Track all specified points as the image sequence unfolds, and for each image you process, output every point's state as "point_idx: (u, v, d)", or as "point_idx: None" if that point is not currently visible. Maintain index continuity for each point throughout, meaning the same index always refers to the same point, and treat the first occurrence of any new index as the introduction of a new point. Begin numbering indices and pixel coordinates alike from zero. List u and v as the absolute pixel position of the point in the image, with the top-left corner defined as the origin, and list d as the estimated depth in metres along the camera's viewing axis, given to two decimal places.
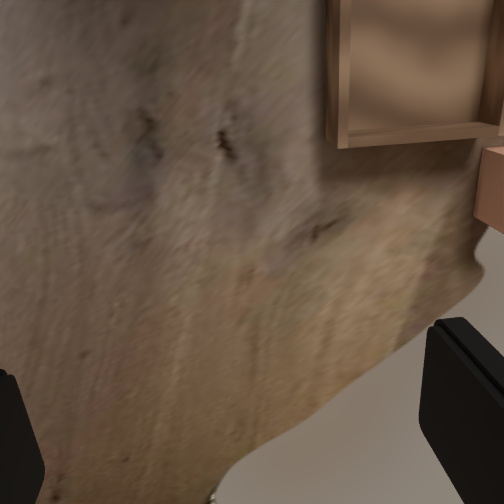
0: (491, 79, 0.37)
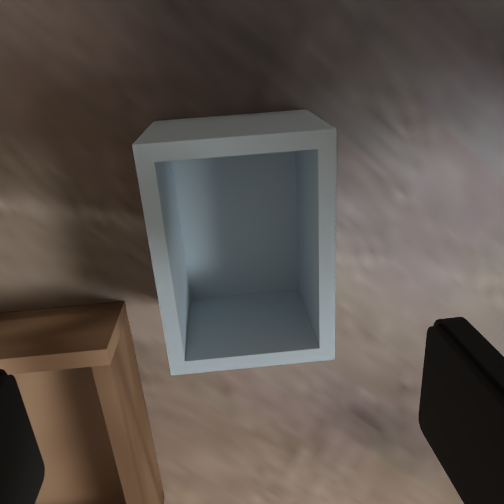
0: None
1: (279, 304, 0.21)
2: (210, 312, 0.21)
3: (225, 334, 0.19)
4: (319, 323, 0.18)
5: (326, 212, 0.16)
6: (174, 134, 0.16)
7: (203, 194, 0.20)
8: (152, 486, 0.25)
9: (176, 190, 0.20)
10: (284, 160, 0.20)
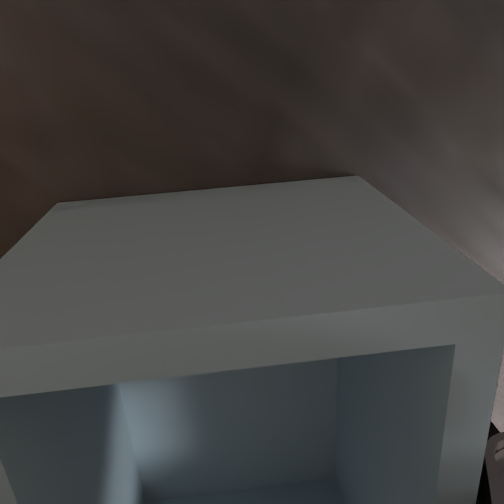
0: None
1: None
2: None
3: None
4: None
5: (457, 478, 0.06)
6: (61, 283, 0.06)
7: None
8: None
9: None
10: None
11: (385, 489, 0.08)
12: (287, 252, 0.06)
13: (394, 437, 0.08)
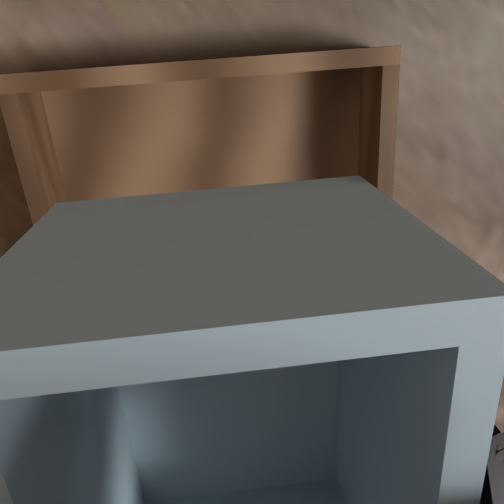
0: None
1: None
2: None
3: None
4: None
5: (460, 482, 0.06)
6: (60, 284, 0.06)
7: None
8: None
9: None
10: None
11: (387, 492, 0.08)
12: (288, 253, 0.06)
13: (396, 440, 0.08)
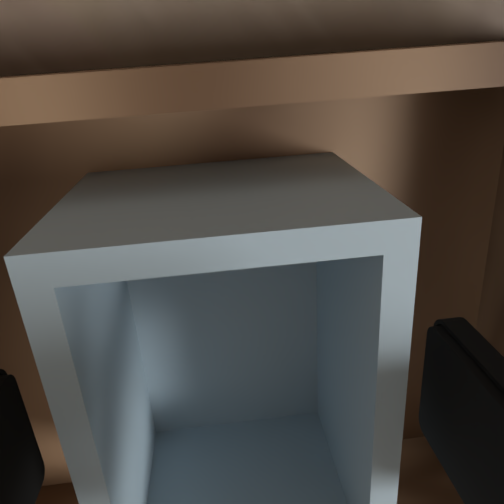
0: None
1: (290, 446, 0.14)
2: (184, 463, 0.13)
3: None
4: None
5: (392, 362, 0.08)
6: (104, 218, 0.08)
7: (171, 285, 0.13)
8: None
9: (127, 281, 0.12)
10: None
11: (349, 396, 0.11)
12: (269, 199, 0.09)
13: (353, 348, 0.10)
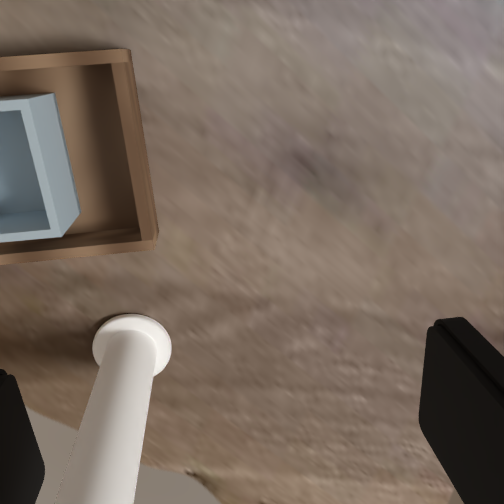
0: None
1: None
2: (5, 218, 0.34)
3: (4, 226, 0.32)
4: (47, 213, 0.31)
5: (34, 145, 0.29)
6: None
7: None
8: (150, 199, 0.35)
9: None
10: None
11: None
12: (1, 99, 0.29)
13: None
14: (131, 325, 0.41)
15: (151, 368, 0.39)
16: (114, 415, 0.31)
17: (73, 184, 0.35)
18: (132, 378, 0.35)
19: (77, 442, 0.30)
